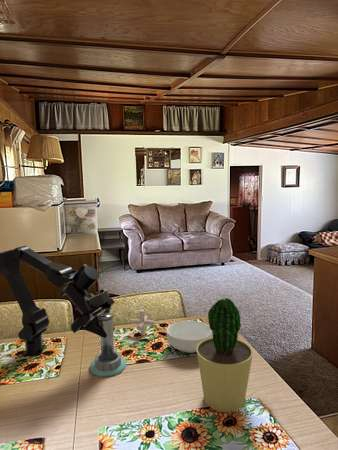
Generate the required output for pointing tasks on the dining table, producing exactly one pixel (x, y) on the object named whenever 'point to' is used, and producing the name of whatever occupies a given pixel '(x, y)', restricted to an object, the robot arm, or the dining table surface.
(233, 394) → the potted cactus
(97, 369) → the collar
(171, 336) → the cereal bowl
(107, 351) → the gray tube
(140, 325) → the pipe connector
